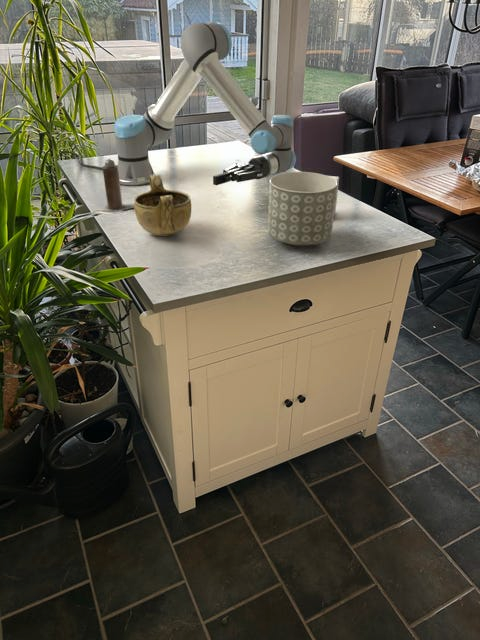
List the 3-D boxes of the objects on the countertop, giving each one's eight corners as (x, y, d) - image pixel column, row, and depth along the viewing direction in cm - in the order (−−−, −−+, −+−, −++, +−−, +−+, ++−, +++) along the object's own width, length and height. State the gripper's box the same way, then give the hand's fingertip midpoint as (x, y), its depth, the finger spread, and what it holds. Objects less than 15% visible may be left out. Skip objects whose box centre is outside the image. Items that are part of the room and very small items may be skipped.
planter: (272, 226, 161) (275, 169, 151) (332, 231, 158) (338, 174, 148) (262, 251, 145) (264, 189, 136) (328, 257, 142) (335, 194, 133)
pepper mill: (105, 207, 175) (98, 159, 166) (117, 203, 177) (112, 156, 169) (112, 210, 171) (106, 162, 163) (125, 207, 174) (119, 159, 165)
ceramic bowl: (133, 221, 163) (128, 175, 155) (184, 216, 167) (182, 171, 159) (142, 249, 145) (137, 199, 137) (199, 243, 150) (198, 193, 141)
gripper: (276, 181, 176) (229, 197, 161) (248, 173, 184) (201, 187, 169) (277, 159, 172) (229, 173, 157) (249, 152, 179) (200, 165, 165)
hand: (214, 180), depth 163 cm, fingers closed
